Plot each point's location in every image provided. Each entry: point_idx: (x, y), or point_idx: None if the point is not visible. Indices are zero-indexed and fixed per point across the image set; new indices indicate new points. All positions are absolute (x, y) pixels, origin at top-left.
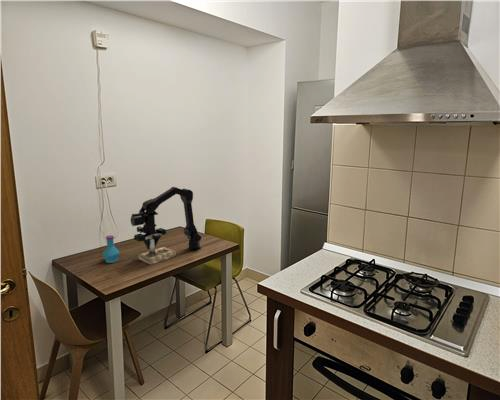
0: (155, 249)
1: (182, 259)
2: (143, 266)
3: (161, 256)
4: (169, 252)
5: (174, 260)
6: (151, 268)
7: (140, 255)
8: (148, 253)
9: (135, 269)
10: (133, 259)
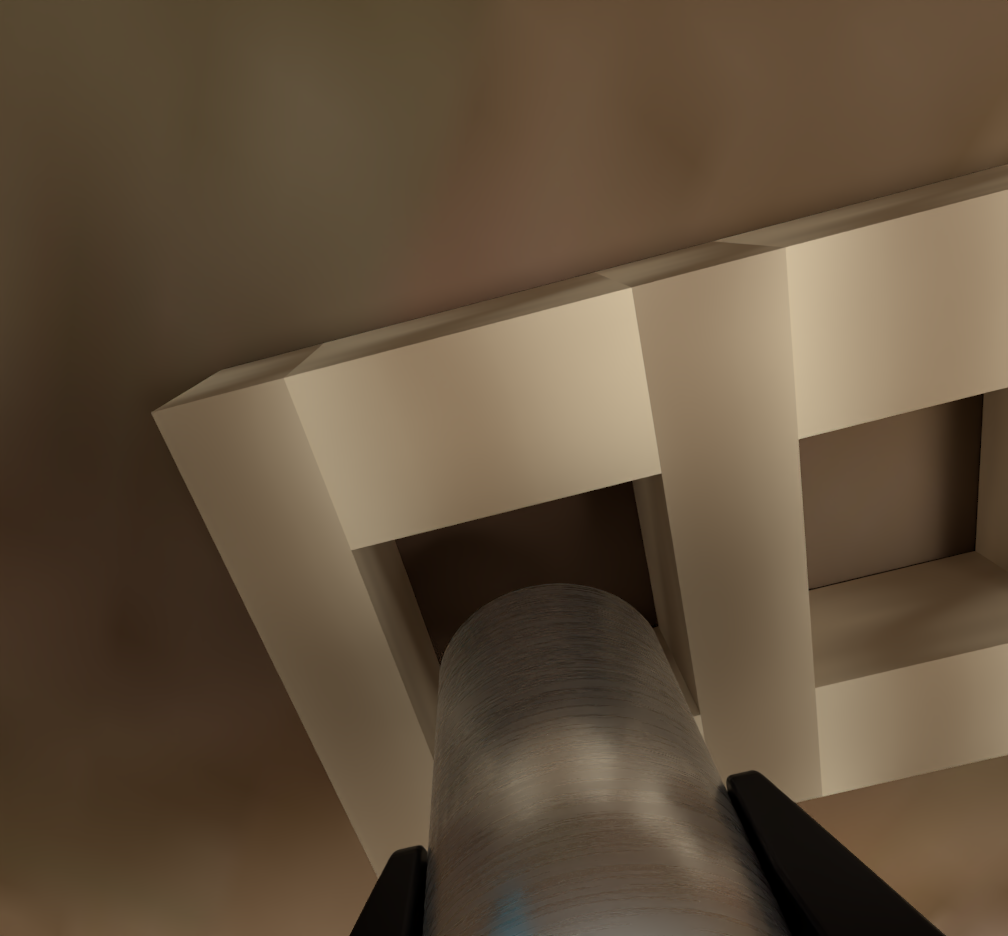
0: (893, 229)
1: (990, 836)
2: (241, 792)
3: None
4: (1001, 723)
5: (860, 813)
6: (355, 916)
7: (207, 516)
8: (438, 689)
9: (65, 840)
10: (69, 264)
